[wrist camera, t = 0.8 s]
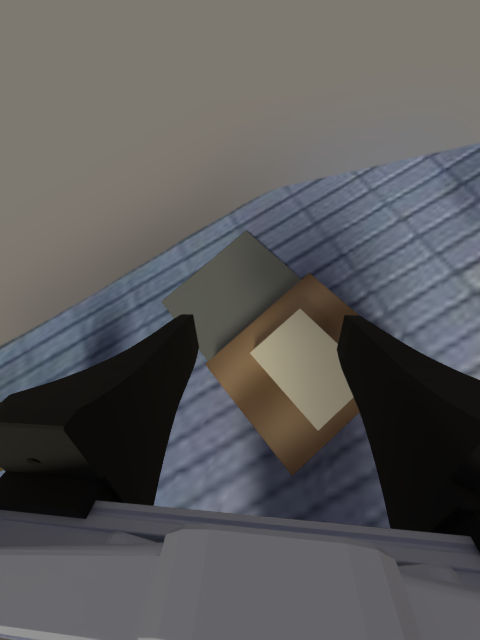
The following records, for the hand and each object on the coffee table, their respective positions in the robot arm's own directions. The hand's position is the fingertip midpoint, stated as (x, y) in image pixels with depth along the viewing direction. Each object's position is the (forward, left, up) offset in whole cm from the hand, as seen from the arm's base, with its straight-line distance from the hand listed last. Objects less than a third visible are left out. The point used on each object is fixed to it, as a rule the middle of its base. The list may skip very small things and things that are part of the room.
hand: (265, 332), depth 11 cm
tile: (-3, -2, -11) cm, 11 cm away
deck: (-2, -2, -14) cm, 14 cm away
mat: (+9, -2, -14) cm, 17 cm away
